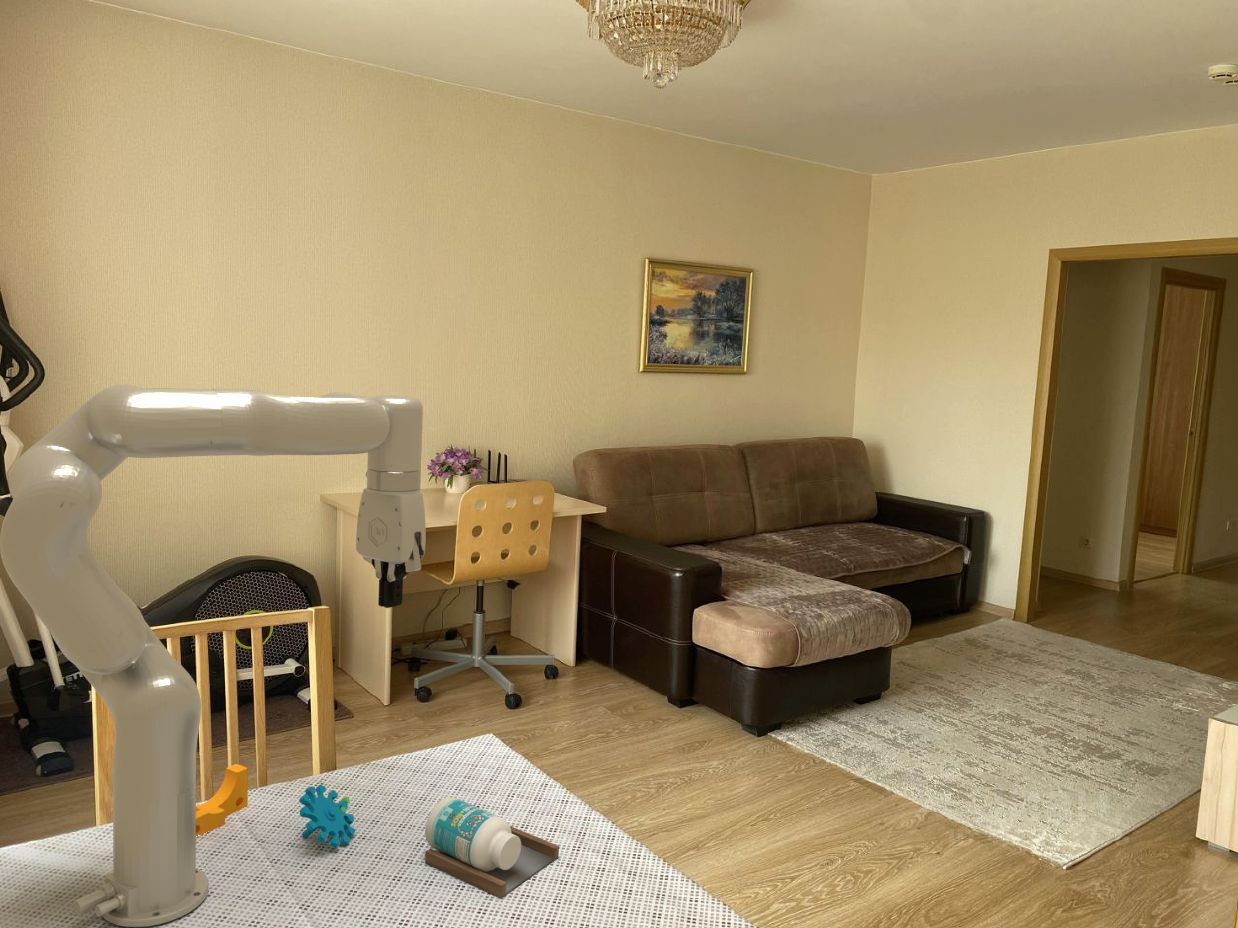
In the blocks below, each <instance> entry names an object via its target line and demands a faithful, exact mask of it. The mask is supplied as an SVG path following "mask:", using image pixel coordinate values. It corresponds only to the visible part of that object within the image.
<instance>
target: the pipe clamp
mask: <svg viewBox="0 0 1238 928" xmlns="http://www.w3.org/2000/svg"><path fill="white" fill-rule="evenodd" d="M248 769H249V768H248V767H246V766H243V765H240V764H237V763H235V764H233V765H230V766H228V767H226V768H225V774H224V778H223V781H222V783H221V786H220V787H219V789H218V790H217V791H216V792H215V794H214V795H213V796H212V797H211V798H210V799H208V800H207V801H205V802H203V803H201V804H198V805H197V804H196V836H198V835H201V834H204V833H206V832H208V831H210V832H212V831H214V830H216V829H218V828H220V827H222V826H224V825H226V817H229V816H230V815H232V814H235V813H237V812H239V811H241V810H242V808H243V809H245V808H246V807H247V808H248V804H249V803H248V794H249V793H248V786H249V784H248V783H249V782H248V780H249V778H248V776H249V775H248V774H249V772H248ZM220 798H221V799H220ZM244 807H245V808H244ZM240 809H241V810H240ZM238 810H239V811H238ZM236 811H237V812H236ZM234 812H235V813H234ZM211 830H212V831H211ZM208 833H209V832H208ZM206 834H207V833H206ZM204 835H205V834H204Z"/></svg>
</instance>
